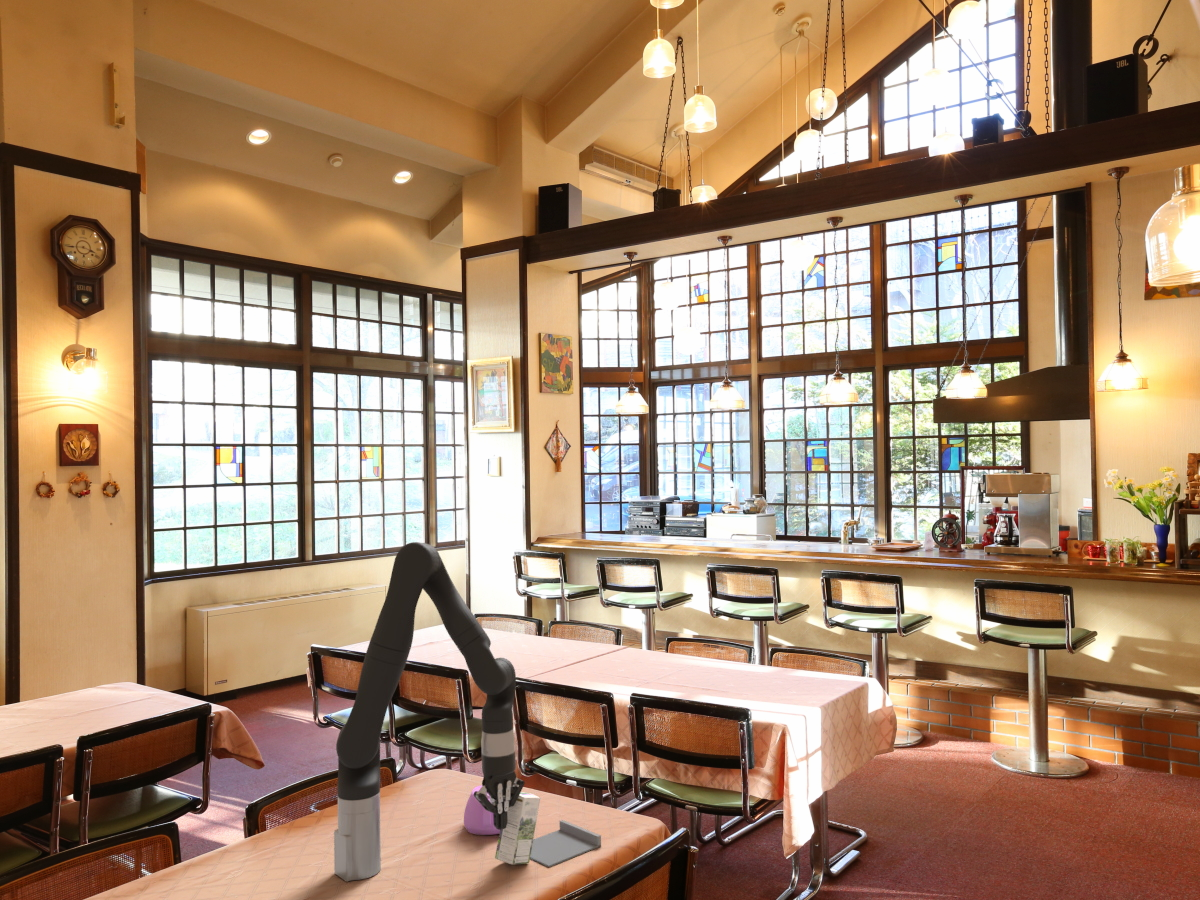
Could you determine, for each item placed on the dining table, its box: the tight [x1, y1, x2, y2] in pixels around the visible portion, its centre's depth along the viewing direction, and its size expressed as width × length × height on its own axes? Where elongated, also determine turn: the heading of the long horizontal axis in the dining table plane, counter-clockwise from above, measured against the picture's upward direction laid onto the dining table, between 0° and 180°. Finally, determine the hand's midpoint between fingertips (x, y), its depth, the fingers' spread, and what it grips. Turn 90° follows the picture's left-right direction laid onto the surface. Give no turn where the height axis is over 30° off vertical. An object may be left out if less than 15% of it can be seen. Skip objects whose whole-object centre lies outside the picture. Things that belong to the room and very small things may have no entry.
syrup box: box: [494, 791, 541, 865], centre depth 196 cm, size 6×6×14 cm
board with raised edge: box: [530, 819, 602, 868], centre depth 203 cm, size 16×14×2 cm
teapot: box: [463, 784, 500, 836], centre depth 217 cm, size 13×20×11 cm
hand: (500, 828), depth 192 cm, fingers closed
